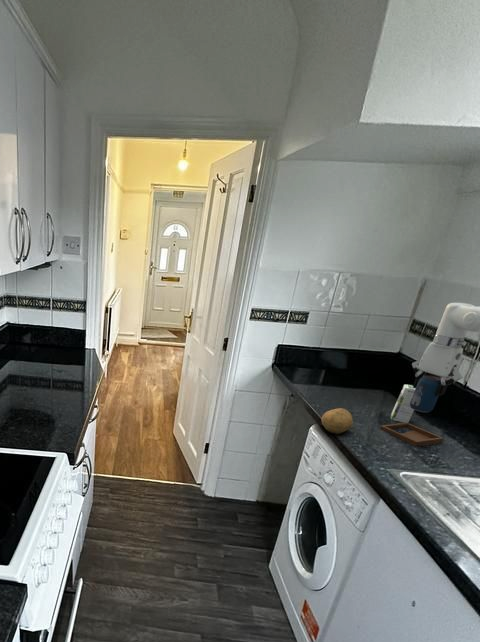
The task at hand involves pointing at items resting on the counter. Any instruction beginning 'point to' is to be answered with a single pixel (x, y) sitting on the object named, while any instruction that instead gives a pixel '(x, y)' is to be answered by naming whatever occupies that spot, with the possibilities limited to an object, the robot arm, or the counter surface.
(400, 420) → the syrup box
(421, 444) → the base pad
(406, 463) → the counter surface
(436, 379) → the soda can
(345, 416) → the potato
